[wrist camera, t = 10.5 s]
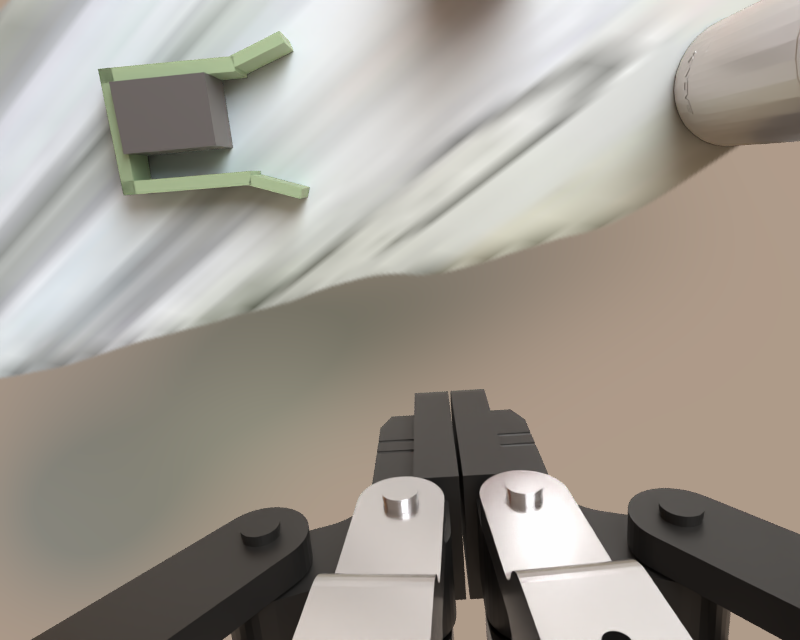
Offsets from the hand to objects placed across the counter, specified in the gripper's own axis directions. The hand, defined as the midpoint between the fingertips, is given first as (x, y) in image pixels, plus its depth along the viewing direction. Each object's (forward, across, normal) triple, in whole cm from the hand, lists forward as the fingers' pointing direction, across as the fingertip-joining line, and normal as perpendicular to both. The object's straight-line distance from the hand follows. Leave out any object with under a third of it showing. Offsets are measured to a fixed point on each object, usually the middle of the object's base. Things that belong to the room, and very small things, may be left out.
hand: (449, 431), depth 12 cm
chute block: (+35, +18, -11) cm, 41 cm away
